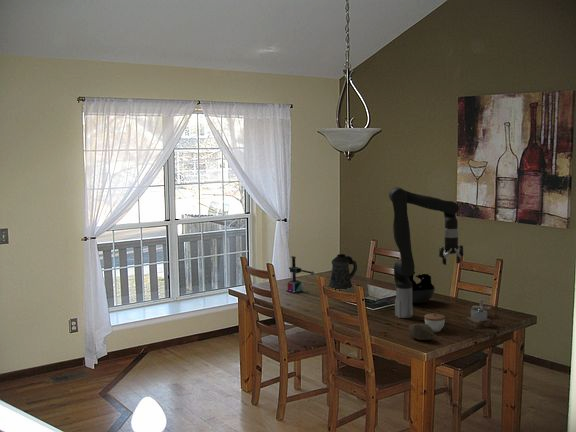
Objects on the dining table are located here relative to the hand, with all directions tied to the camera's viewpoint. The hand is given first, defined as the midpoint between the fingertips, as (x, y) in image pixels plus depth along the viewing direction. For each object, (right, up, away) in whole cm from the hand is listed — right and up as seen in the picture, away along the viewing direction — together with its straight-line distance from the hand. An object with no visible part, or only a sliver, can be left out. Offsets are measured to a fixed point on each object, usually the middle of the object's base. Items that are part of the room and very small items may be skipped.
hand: (451, 263), depth 363 cm
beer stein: (-57, -24, +71) cm, 94 cm away
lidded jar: (-15, -34, -23) cm, 44 cm away
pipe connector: (+17, -30, -1) cm, 35 cm away
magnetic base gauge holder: (-86, -25, +69) cm, 113 cm away
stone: (-25, -36, -38) cm, 58 cm away
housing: (+11, -29, -17) cm, 35 cm away
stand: (+11, -32, -16) cm, 37 cm away
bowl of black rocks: (-12, -27, +32) cm, 44 cm away
